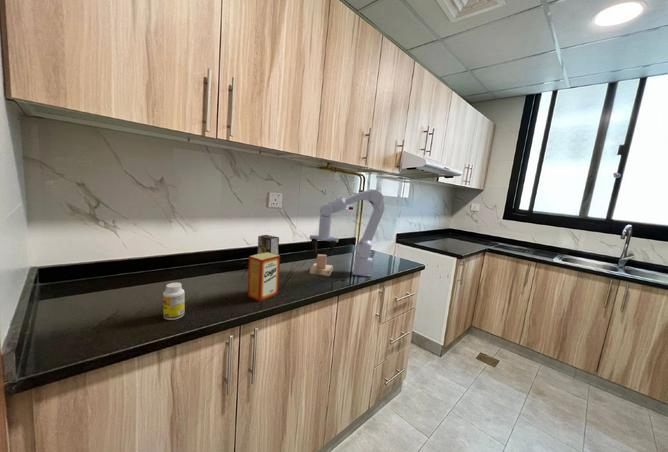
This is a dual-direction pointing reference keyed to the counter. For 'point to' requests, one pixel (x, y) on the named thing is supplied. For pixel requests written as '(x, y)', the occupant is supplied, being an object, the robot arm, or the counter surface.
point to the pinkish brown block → (321, 261)
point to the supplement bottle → (173, 301)
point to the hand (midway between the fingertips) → (322, 254)
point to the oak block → (321, 270)
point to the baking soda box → (263, 276)
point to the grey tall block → (268, 244)
